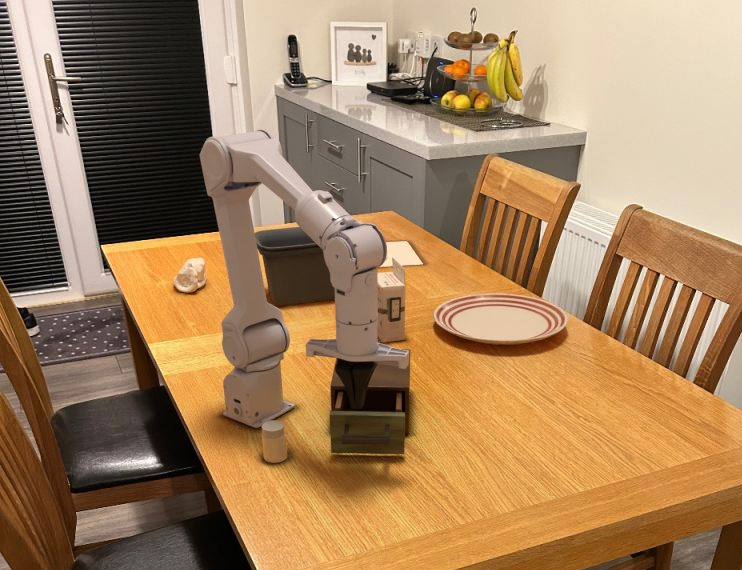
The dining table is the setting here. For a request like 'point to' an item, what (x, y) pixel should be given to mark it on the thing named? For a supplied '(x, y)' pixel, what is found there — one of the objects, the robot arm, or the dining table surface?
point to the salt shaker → (274, 441)
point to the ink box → (391, 304)
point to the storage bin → (294, 267)
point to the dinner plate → (500, 318)
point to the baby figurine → (191, 275)
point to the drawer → (368, 424)
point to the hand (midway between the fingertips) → (357, 405)
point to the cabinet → (382, 384)
